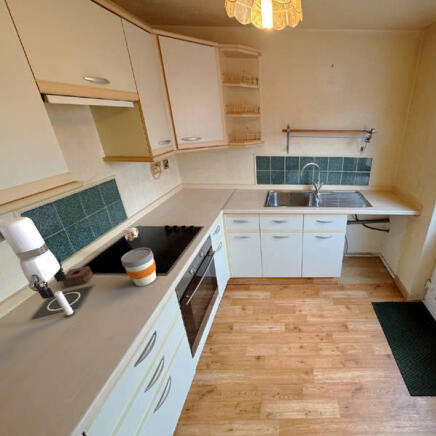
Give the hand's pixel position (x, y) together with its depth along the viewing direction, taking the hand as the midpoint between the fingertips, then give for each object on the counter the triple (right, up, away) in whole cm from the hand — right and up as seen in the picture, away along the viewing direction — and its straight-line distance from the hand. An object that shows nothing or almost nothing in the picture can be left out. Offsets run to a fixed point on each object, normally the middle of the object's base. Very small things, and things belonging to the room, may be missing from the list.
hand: (56, 288), depth 87 cm
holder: (-14, -4, +25) cm, 29 cm away
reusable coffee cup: (+19, -4, +25) cm, 31 cm away
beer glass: (0, +7, +47) cm, 48 cm away
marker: (0, -13, +6) cm, 14 cm away
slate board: (-9, -10, +13) cm, 18 cm away
